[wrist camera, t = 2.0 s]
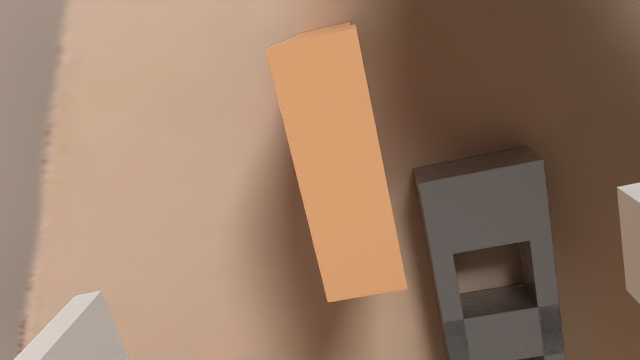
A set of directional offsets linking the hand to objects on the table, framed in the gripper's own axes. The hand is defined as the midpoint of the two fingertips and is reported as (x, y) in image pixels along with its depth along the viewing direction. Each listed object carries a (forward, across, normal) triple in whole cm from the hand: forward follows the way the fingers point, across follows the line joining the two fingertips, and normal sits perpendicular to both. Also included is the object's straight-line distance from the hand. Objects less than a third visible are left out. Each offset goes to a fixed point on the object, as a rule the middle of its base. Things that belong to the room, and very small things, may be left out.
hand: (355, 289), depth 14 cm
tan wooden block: (+21, 0, 0) cm, 21 cm away
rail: (+21, +6, -15) cm, 26 cm away
